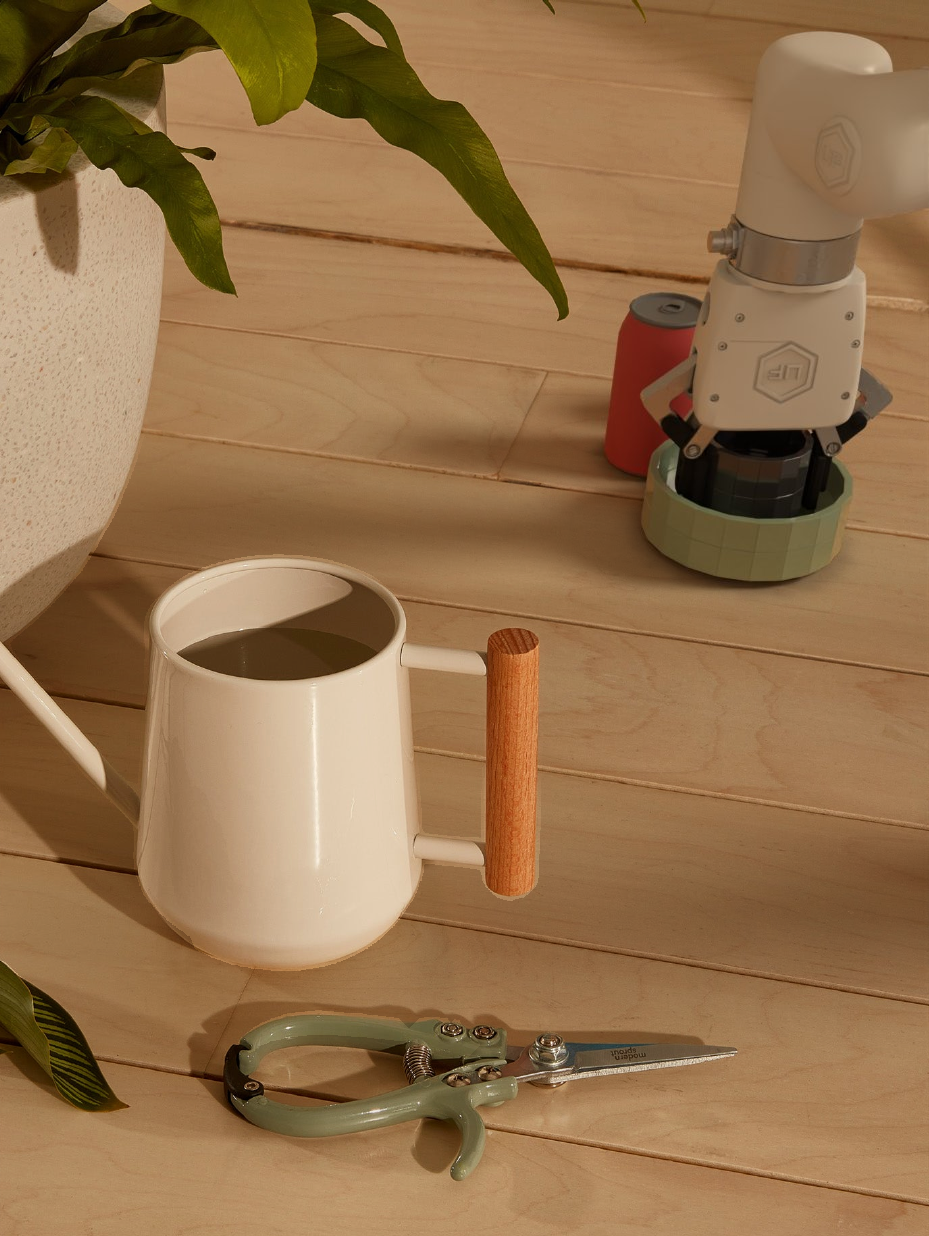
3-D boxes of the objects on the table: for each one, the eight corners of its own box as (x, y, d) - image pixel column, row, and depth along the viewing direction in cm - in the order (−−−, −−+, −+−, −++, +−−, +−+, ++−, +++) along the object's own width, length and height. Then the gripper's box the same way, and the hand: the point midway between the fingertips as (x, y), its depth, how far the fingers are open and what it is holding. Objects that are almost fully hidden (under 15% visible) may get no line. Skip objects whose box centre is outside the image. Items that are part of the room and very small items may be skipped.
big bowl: (808, 487, 124) (821, 425, 121) (863, 587, 113) (879, 521, 110) (624, 490, 124) (632, 427, 121) (662, 590, 113) (672, 524, 110)
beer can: (707, 453, 128) (733, 301, 121) (672, 490, 124) (696, 335, 116) (625, 431, 131) (645, 281, 124) (587, 466, 127) (606, 313, 120)
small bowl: (782, 488, 120) (797, 410, 116) (810, 540, 114) (826, 460, 111) (681, 490, 120) (693, 412, 117) (704, 542, 114) (717, 461, 111)
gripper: (664, 274, 103) (628, 531, 114) (955, 269, 103) (893, 527, 114) (639, 228, 109) (608, 476, 120) (914, 223, 109) (859, 472, 120)
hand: (747, 499), depth 116 cm, fingers closed on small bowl, 7 cm apart
